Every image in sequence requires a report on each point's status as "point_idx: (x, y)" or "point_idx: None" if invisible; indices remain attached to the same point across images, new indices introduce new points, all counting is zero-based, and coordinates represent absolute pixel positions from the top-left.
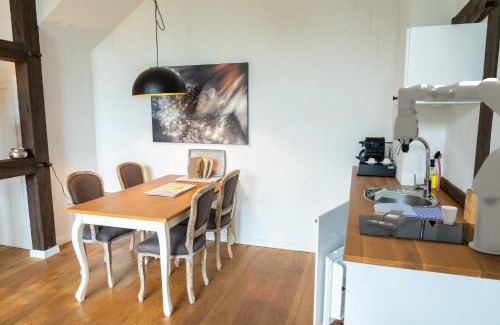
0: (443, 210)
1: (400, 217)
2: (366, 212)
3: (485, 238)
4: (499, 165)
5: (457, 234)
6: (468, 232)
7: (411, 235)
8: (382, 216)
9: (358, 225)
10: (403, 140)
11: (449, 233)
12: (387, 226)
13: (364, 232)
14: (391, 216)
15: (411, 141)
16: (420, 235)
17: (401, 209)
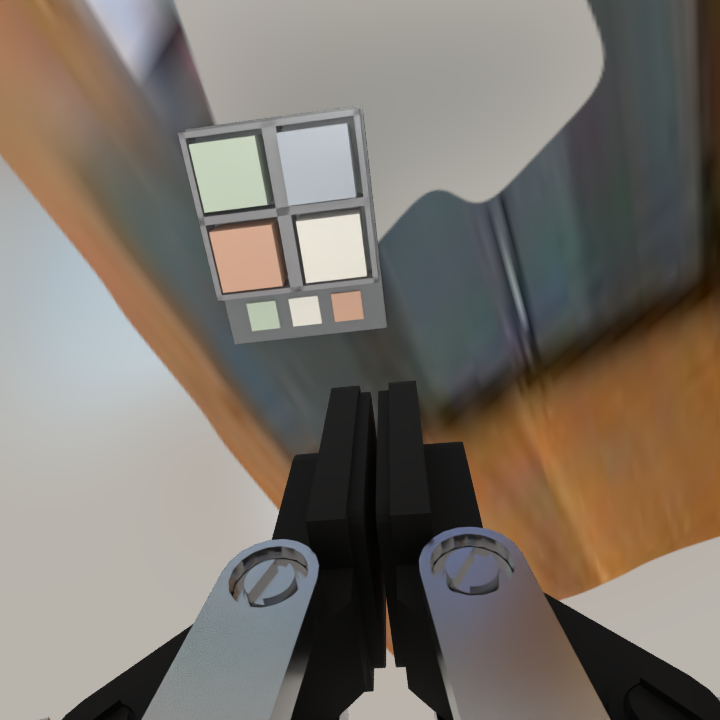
0: None
1: (368, 212)
2: (50, 62)
3: None
4: None
5: (678, 132)
6: None
7: (483, 341)
8: (283, 283)
9: (223, 381)
10: (257, 694)
11: (636, 148)
12: (350, 329)
13: (308, 453)
14: (335, 273)
15: (608, 672)
16: (517, 308)
17: (337, 134)
